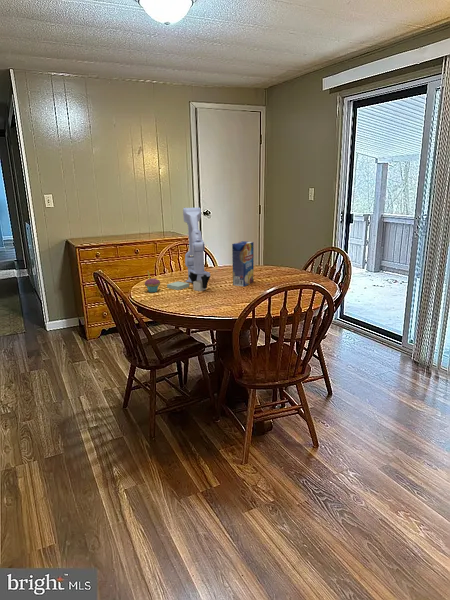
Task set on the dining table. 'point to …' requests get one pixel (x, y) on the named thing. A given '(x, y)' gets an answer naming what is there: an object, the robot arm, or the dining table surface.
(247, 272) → the juice carton
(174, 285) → the base
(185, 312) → the dining table surface
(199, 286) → the block
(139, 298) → the dining table surface
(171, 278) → the dining table surface
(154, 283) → the cupcake
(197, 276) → the robot arm
